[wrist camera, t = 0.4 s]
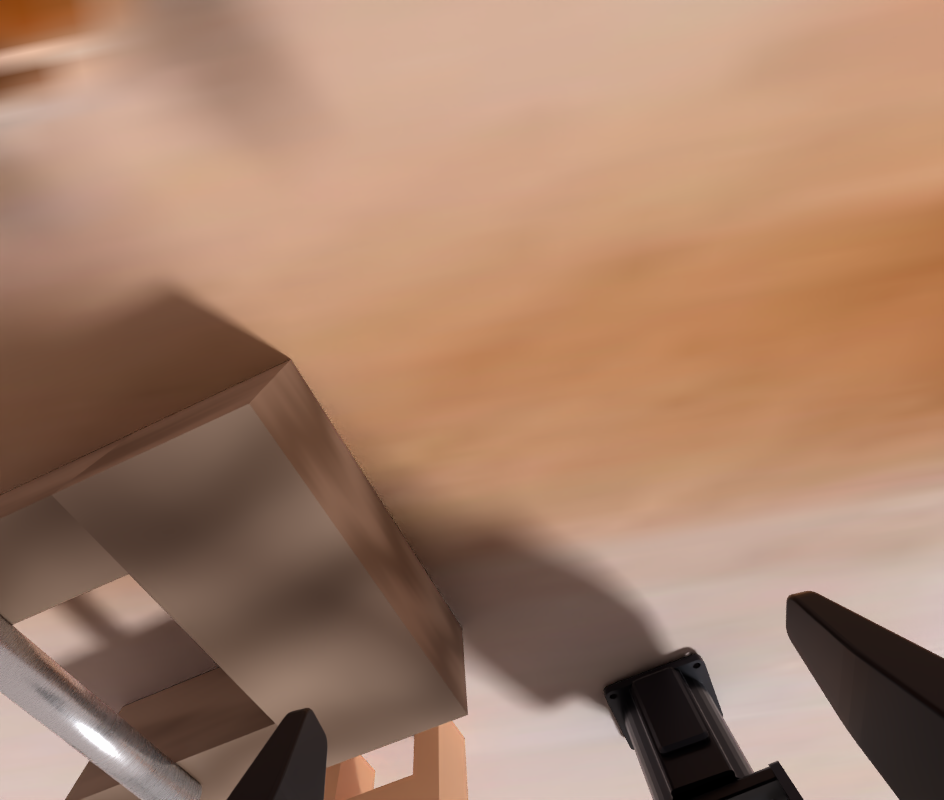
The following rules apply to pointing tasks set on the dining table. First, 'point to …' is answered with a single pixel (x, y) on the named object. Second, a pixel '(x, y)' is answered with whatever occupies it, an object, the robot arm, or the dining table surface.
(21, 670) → the metal rod
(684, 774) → the robot arm
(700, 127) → the dining table surface
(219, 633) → the u-shaped stone cradle
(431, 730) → the wooden building block
